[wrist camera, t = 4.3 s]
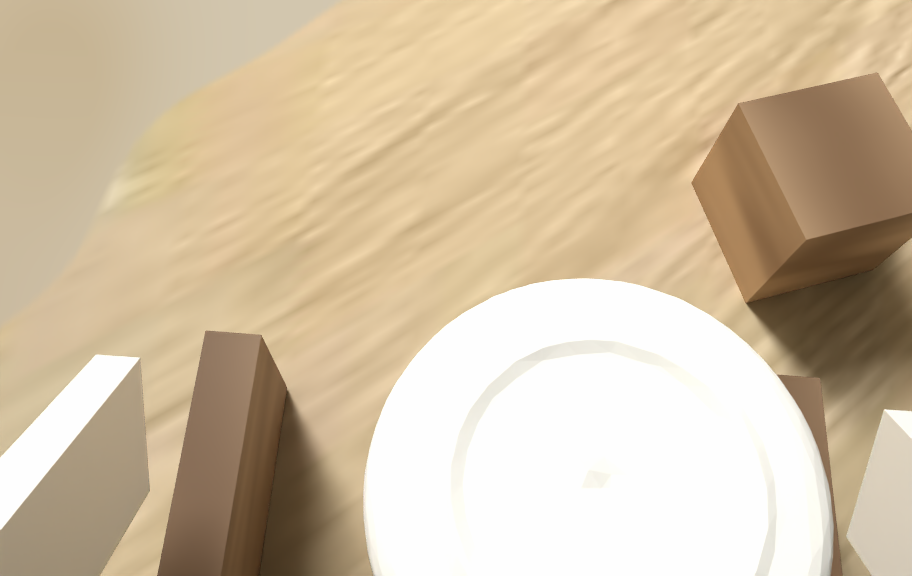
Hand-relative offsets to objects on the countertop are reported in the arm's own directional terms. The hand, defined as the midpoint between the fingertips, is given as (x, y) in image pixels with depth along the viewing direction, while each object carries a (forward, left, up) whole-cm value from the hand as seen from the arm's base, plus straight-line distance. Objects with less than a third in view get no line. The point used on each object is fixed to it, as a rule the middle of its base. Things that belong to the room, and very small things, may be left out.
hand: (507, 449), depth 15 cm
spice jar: (0, +2, -7) cm, 7 cm away
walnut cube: (-8, -9, -6) cm, 14 cm away
